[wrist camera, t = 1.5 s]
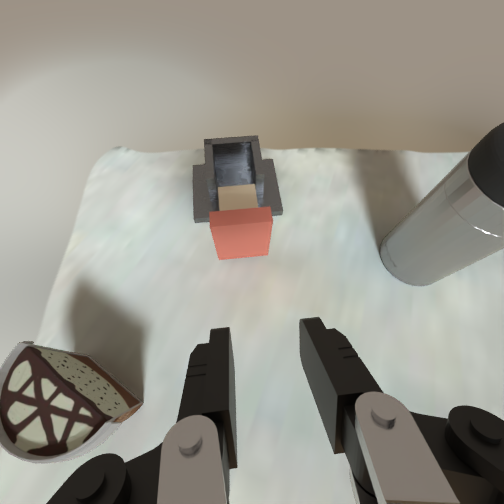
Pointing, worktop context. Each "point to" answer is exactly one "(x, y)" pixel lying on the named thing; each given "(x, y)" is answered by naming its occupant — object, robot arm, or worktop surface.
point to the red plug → (240, 223)
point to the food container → (58, 404)
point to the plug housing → (233, 175)
